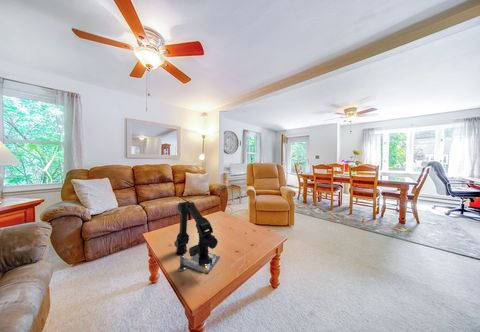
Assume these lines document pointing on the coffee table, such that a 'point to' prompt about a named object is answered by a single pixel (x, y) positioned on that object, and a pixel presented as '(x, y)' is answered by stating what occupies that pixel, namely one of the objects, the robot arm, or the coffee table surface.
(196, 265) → the cable arm
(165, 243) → the coffee table surface
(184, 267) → the pivot post
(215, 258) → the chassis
